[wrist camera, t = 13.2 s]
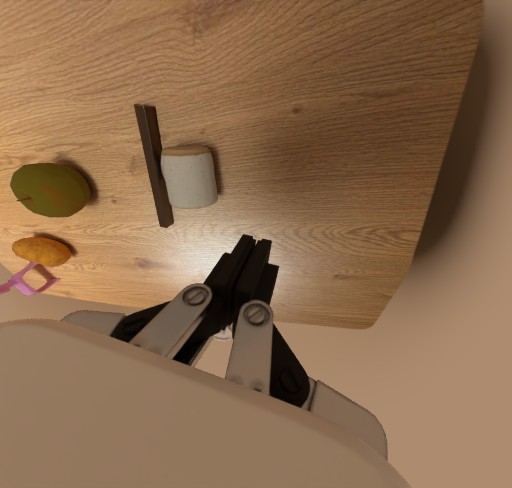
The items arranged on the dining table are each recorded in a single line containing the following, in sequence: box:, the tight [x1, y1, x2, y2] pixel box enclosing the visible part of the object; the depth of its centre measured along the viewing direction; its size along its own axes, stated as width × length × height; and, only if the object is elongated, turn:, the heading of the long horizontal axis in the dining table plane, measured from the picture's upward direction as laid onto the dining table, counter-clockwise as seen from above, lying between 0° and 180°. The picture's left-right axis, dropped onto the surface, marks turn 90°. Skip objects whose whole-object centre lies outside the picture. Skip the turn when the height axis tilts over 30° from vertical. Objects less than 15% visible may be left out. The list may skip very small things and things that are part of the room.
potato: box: [12, 237, 71, 267], centre depth 53 cm, size 7×14×7 cm, turn 81°
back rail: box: [134, 104, 174, 228], centre depth 34 cm, size 3×20×2 cm, turn 174°
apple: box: [10, 163, 91, 217], centre depth 37 cm, size 10×10×11 cm
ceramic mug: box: [161, 146, 218, 209], centre depth 30 cm, size 11×8×8 cm
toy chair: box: [0, 262, 60, 295], centre depth 60 cm, size 8×9×15 cm
